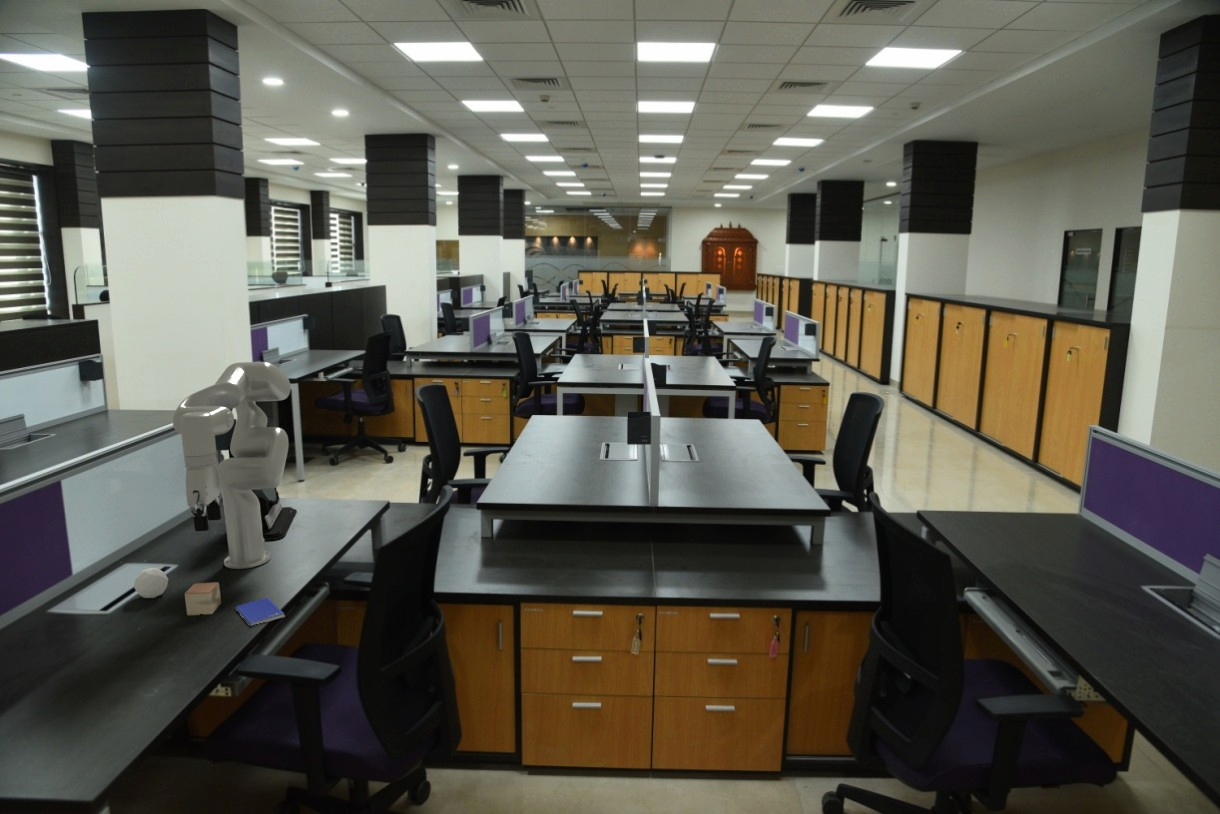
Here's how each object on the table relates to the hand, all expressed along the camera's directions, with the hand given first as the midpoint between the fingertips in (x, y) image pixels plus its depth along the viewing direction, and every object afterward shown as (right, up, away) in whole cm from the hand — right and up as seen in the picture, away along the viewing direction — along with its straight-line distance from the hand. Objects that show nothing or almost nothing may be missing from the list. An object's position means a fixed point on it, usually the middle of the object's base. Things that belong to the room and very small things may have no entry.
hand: (208, 524), depth 205 cm
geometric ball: (-17, -20, +4) cm, 26 cm away
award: (-12, -10, +57) cm, 59 cm away
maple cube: (+1, -21, -4) cm, 22 cm away
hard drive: (+16, -22, -6) cm, 28 cm away
